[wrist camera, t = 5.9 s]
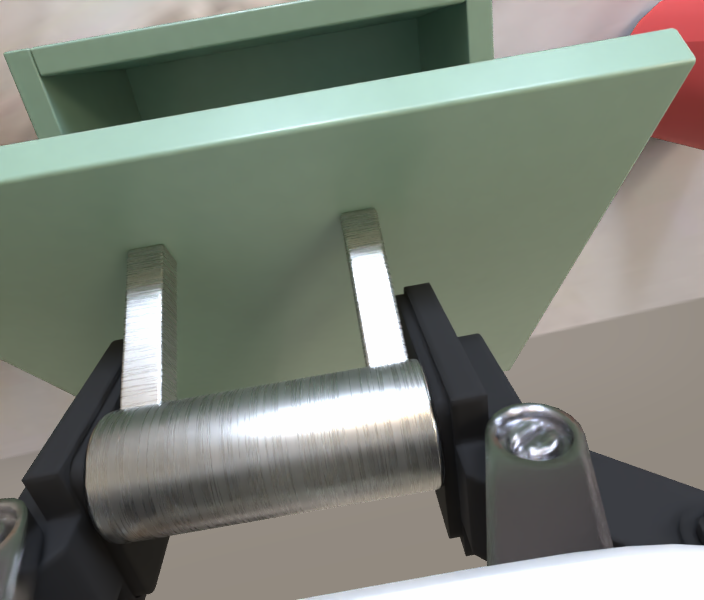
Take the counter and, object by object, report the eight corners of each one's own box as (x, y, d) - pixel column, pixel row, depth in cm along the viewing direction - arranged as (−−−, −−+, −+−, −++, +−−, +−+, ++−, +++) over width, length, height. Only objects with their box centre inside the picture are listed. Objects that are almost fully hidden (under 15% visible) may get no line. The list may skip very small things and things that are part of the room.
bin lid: (-250, 187, 8) (-454, 619, 5) (677, 24, 8) (920, 381, 5) (149, 413, 21) (145, 573, 18) (504, 351, 21) (551, 503, 18)
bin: (107, 52, 23) (1, 52, 15) (429, -5, 23) (491, -34, 15) (195, 317, 29) (152, 416, 21) (451, 272, 29) (503, 355, 21)
